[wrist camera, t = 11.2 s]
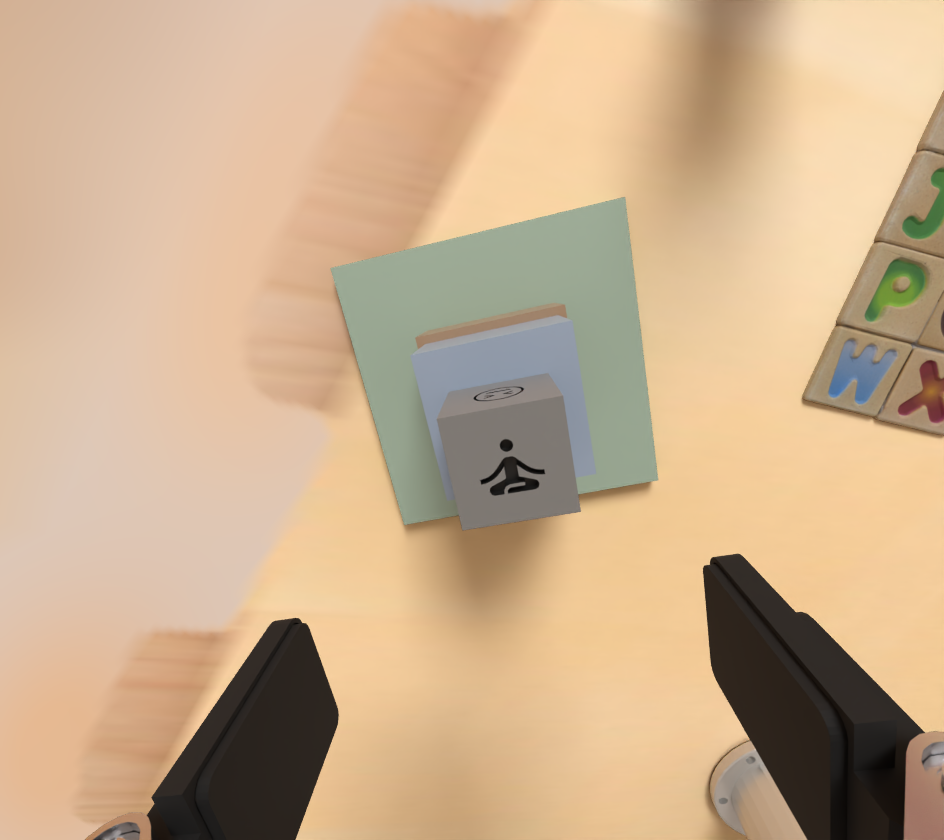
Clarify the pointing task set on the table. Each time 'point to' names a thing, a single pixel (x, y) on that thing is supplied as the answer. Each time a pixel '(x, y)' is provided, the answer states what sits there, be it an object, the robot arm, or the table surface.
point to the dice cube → (509, 452)
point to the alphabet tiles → (896, 308)
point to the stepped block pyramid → (504, 343)
